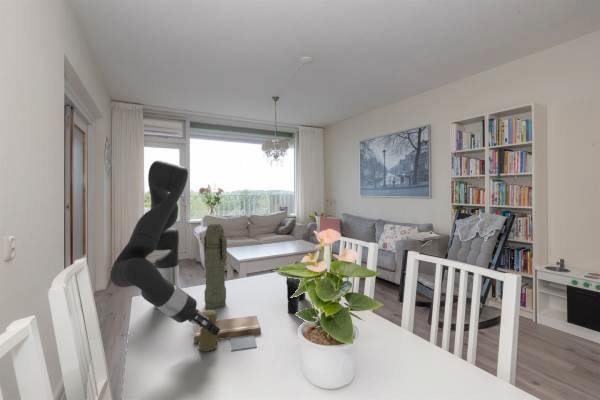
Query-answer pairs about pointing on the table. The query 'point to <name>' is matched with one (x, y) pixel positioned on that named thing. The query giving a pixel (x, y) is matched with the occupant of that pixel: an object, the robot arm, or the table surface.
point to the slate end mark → (242, 342)
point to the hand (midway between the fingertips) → (213, 329)
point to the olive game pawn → (208, 333)
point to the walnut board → (234, 327)
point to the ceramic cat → (291, 288)
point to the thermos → (215, 266)
